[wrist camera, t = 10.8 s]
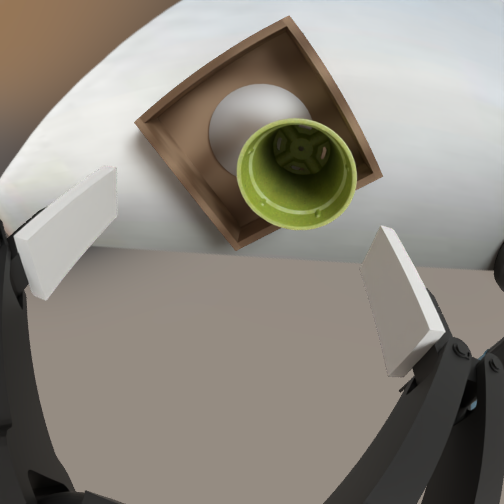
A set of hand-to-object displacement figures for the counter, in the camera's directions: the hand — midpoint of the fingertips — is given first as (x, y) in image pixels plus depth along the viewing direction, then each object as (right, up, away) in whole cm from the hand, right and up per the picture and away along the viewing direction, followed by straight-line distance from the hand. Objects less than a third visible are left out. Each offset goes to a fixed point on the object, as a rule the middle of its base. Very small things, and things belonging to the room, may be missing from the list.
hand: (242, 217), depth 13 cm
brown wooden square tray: (+1, +11, +16) cm, 20 cm away
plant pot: (+6, +9, +15) cm, 18 cm away
